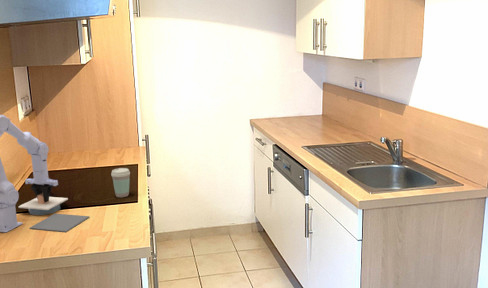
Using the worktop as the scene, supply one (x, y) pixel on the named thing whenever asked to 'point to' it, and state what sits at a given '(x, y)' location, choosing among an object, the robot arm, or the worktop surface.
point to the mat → (59, 222)
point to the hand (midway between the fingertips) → (43, 201)
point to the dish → (44, 211)
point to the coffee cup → (121, 181)
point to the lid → (43, 203)
